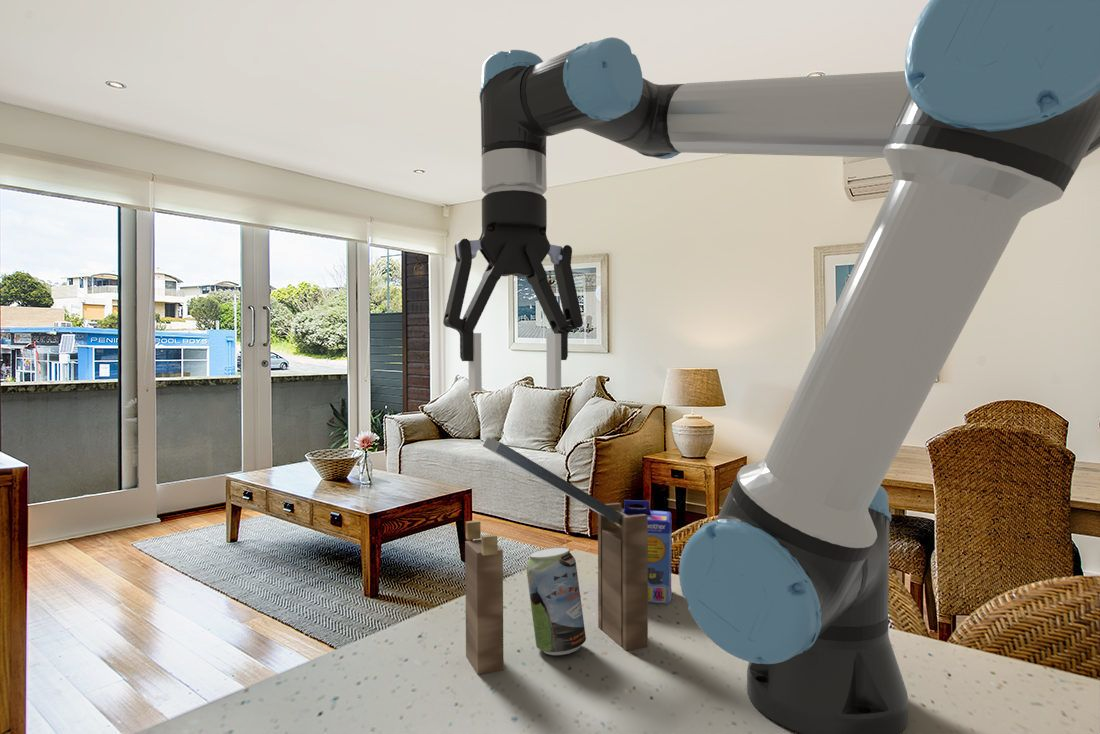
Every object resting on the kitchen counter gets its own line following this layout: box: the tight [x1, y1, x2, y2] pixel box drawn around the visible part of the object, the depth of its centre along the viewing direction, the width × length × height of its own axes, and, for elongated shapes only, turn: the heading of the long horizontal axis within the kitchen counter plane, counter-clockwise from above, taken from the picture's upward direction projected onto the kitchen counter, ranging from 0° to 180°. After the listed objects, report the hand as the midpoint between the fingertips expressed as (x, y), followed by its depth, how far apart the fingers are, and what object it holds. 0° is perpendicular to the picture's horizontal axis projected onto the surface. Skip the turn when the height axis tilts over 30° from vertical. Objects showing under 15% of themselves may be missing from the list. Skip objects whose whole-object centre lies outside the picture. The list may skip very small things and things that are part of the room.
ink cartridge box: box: [621, 499, 673, 605], centre depth 97 cm, size 10×6×14 cm, turn 79°
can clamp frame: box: [464, 502, 649, 676], centre depth 80 cm, size 21×7×16 cm, turn 112°
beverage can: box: [525, 546, 587, 656], centre depth 80 cm, size 6×7×12 cm
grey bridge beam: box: [482, 436, 628, 529], centre depth 80 cm, size 21×5×2 cm
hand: (515, 389), depth 77 cm, fingers open, 9 cm apart
